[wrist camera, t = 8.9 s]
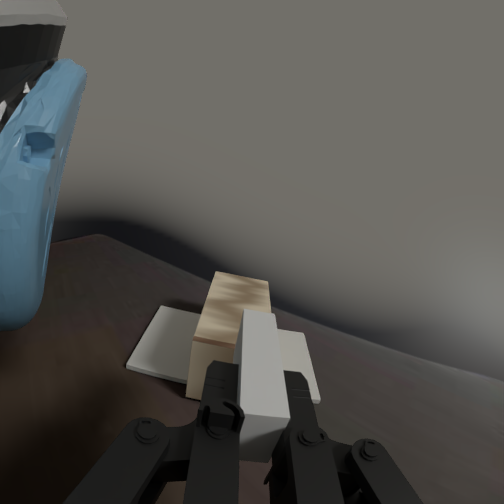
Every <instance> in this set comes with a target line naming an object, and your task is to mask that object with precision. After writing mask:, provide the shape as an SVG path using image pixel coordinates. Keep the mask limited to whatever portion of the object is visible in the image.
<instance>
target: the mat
mask: <svg viewBox="0 0 504 504" xmlns="http://www.w3.org/2000/svg"><path fill="white" fill-rule="evenodd" d="M200 317H201V314H196V313H191V312H187V311H182V310H178V309H174V308H169V307H165V306H161V307H160V308H159V310H158V312H157V313H156V315H155V316H154V318H153V320H152V321H151V323H150V325H149V326H148V328H147V330H146V331H145V333H144V335H143V336H142V338H141V340H140V342H139V343H138V345H137V347H136V348H135V350H134V352H133V354H132V355H131V357H130V359H129V360H128V362H127V364H126V368H127V369H130V370H134V371H137V372H141V373H144V374H148V375H151V376H155V377H159V378H163V379H167V380H171V381H175V382H179V383H183V384H187V379H188V371H189V362H190V354H191V346H192V340H193V337H194V335H195V332H196V329H197V326H198V323H199V320H200ZM277 332H278V339H279V345H280V352H281V358H282V365H283V370H287V371H296V372H301V373H302V374H303V376H304V377H305V378H306V379H307V381H308V385H309V389H310V390H309V392H310V393H311V399H312V402H313V403H319V402H320V400H321V399H320V395H319V391H318V387H317V383H316V379H315V375H314V371H313V367H312V363H311V360H310V356H309V352H308V348H307V344H306V340H305V336H304V333H299V332H292V331H286V330H280V329H277Z"/></svg>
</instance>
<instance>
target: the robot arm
mask: <svg viewBox="0 0 504 504" xmlns="http://www.w3.org/2000/svg"><path fill="white" fill-rule="evenodd" d="M67 18H68V17H67V16H66V14H65V13H64V11H63V9H62V8H61V6H60V5H59V3H58V1H57V0H0V331H13V330H17V329H20V328H22V327H23V326H25V325H26V324H27V323H29V322H30V321H31V320H32V318H33V317H34V315H35V314H36V312H37V310H38V308H39V305H40V303H41V299H42V295H43V289H44V282H45V275H46V269H47V262H48V254H49V247H50V241H51V234H52V228H53V222H54V216H55V210H56V204H57V199H58V194H59V189H60V184H61V179H62V174H63V170H64V166H65V162H66V157H67V153H68V149H69V145H70V141H71V137H72V134H73V130H74V125H75V122H76V119H77V114H78V110H79V105H80V101H81V97H82V93H83V91H84V89H85V85H86V78H87V74H86V70H85V69H84V68H83V67H82V66H80V65H77V64H75V63H74V62H73V60H72V59H60V60H58V52H59V49H60V45H61V41H62V37H63V34H64V31H65V27H66V23H67ZM309 390H310V389H309V385H308V381H307V379H306V378H305V377H304V376H303V374H302V373H301V372H296V371H287V370H283V365H282V358H281V352H280V345H279V339H278V332H277V326H276V319H275V314H272V313H266V312H260V311H254V310H249V309H244V310H243V314H242V319H241V323H240V328H239V332H238V337H237V341H236V345H235V350H234V355H233V363H227V362H222V361H216V360H213V361H212V363H211V364H210V365H209V366H208V367H207V370H206V375H205V381H204V386H203V391H202V397H201V402H200V407H199V409H198V414H197V418H196V419H195V420H194V421H193V422H192V423H190V424H188V425H185V426H181V427H166V426H165V425H164V424H163V423H161V422H160V421H158V420H156V419H152V418H137V419H134V420H132V421H131V422H130V423H128V424H127V425H126V427H125V428H124V429H123V430H122V432H121V433H120V434H119V435H118V437H117V438H116V439H115V440H114V441H113V443H112V444H111V445H110V446H109V448H108V449H107V450H106V451H105V453H104V454H103V455H102V456H101V457H100V459H99V460H98V461H97V462H96V464H95V465H94V466H93V467H92V468H91V470H90V471H89V472H88V473H87V474H86V476H85V477H84V478H83V479H82V481H81V482H80V483H79V484H78V485H77V487H76V488H75V489H74V490H73V491H72V493H71V494H70V495H69V496H68V497H67V499H66V500H65V501H64V502H63V504H155V502H156V501H157V499H158V497H159V496H160V494H161V492H162V490H163V489H164V487H165V485H166V484H167V482H173V481H186V488H185V494H184V500H183V504H238V489H239V460H242V461H252V462H264V463H268V462H269V460H270V458H271V456H272V467H271V469H270V471H269V473H268V474H267V476H266V478H265V480H264V484H267V483H268V481H269V490H270V504H423V502H422V501H421V499H420V498H419V497H418V495H417V494H416V492H415V491H414V489H413V488H412V487H411V485H410V484H409V482H408V481H407V479H406V478H405V477H404V475H403V474H402V472H401V471H400V469H399V468H398V467H397V465H396V464H395V462H394V461H393V459H392V458H391V456H390V455H389V454H388V452H387V451H386V449H385V448H384V447H383V446H382V445H381V444H380V443H379V442H377V441H375V440H371V439H360V440H358V441H356V442H355V443H354V445H353V446H351V445H347V444H343V443H339V442H336V441H333V440H331V439H329V438H328V436H327V434H326V432H324V431H323V430H322V429H321V428H319V426H318V423H317V419H316V414H315V410H314V406H313V402H312V399H311V393H310V392H309Z"/></svg>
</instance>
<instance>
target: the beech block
mask: <svg viewBox="0 0 504 504" xmlns="http://www.w3.org/2000/svg"><path fill="white" fill-rule="evenodd" d="M244 309H249V310H254V311H260V312H266V313H271V307H270V297H269V287H268V282H267V281H262V280H256V279H252V278H247V277H242V276H237V275H232V274H227V273H222V272H216V273H215V276H214V279H213V281H212V284H211V287H210V290H209V293H208V296H207V299H206V302H205V305H204V308H203V311H202V314H201V317H200V320H199V323H198V326H197V329H196V332H195V335H194V337H193V340H192V346H191V354H190V362H189V371H188V379H187V388H186V397H189V398H193V399H198V400H201V397H202V391H203V386H204V381H205V375H206V370H207V367H208V366H209V365H210V364H211V363H212V361H213V360H216V361H222V362H227V363H233V355H234V350H235V345H236V341H237V337H238V332H239V328H240V323H241V319H242V314H243V310H244Z"/></svg>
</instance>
